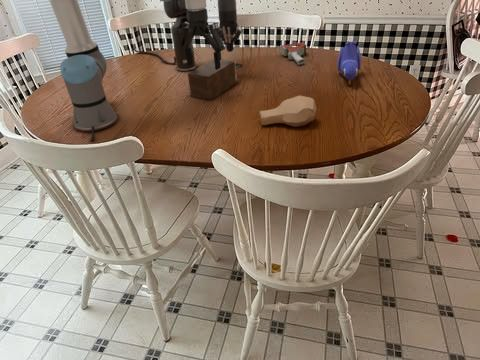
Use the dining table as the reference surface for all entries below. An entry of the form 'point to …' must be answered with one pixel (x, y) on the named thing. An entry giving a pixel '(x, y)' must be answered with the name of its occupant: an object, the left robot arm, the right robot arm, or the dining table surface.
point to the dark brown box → (211, 79)
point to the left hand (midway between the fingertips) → (203, 66)
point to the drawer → (237, 68)
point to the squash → (291, 112)
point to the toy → (349, 61)
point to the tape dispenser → (294, 52)
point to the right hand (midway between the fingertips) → (230, 51)
